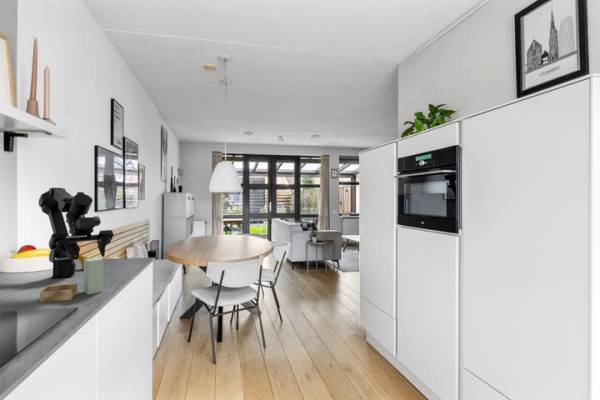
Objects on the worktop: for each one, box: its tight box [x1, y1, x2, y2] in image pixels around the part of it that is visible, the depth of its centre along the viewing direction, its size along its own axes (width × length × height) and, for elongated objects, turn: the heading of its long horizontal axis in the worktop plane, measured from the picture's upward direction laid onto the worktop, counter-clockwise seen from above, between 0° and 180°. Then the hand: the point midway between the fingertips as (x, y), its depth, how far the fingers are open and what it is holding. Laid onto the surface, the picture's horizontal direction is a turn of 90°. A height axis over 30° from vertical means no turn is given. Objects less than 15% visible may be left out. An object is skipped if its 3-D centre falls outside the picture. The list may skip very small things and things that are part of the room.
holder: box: [39, 283, 78, 303], centre depth 102 cm, size 8×8×3 cm
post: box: [82, 257, 105, 295], centre depth 108 cm, size 4×4×11 cm
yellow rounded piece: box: [78, 253, 91, 270], centre depth 140 cm, size 5×5×10 cm
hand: (89, 257), depth 111 cm, fingers open, 9 cm apart
